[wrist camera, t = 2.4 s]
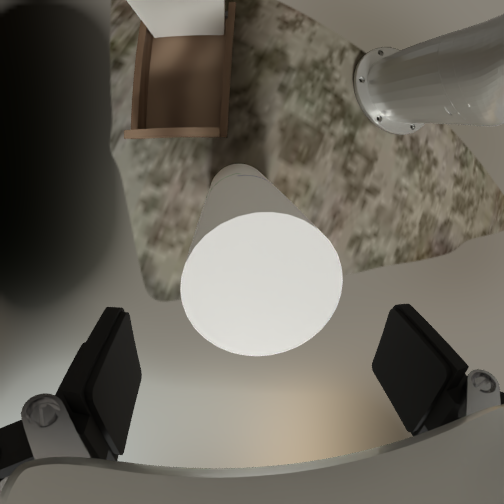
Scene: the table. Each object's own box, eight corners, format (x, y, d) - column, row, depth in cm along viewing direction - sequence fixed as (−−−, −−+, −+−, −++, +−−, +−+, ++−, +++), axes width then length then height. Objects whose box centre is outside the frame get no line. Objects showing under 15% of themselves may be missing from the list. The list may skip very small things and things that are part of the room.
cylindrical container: (265, 221, 38) (325, 353, 14) (208, 219, 37) (184, 354, 14) (270, 165, 35) (356, 218, 12) (211, 162, 34) (179, 207, 11)
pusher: (224, 27, 27) (225, -43, 12) (224, 35, 28) (224, -33, 13) (155, 29, 26) (113, -32, 11) (154, 37, 27) (110, -21, 12)
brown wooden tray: (235, 15, 27) (238, -16, 19) (227, 137, 33) (227, 136, 25) (150, 18, 26) (132, -9, 18) (140, 138, 32) (116, 139, 24)
